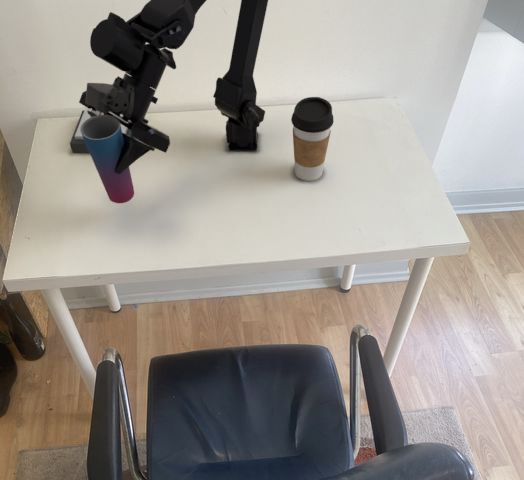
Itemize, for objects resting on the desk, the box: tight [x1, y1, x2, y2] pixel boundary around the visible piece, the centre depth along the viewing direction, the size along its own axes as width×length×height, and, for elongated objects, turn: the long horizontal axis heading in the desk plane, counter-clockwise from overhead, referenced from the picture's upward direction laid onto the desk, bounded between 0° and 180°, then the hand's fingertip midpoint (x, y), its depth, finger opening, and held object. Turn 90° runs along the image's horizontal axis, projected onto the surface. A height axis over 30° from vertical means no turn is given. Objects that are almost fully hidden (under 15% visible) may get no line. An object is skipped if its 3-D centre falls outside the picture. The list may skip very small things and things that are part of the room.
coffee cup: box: [290, 96, 335, 182], centre depth 111 cm, size 8×8×15 cm
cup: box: [80, 115, 135, 204], centre depth 99 cm, size 7×7×15 cm
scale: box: [69, 107, 132, 154], centre depth 124 cm, size 13×13×3 cm
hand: (106, 165), depth 98 cm, fingers closed on cup, 6 cm apart
